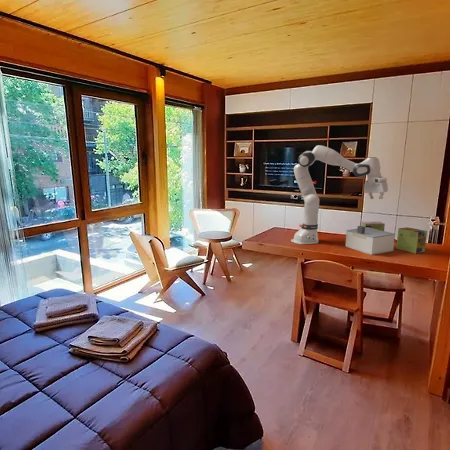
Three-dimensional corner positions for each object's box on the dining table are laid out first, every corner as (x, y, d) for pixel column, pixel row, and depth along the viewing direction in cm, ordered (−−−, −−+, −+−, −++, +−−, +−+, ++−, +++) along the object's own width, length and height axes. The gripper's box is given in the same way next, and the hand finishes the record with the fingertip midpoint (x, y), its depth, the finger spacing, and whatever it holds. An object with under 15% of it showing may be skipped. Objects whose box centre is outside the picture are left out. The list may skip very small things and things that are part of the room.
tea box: (379, 238, 271) (380, 221, 268) (383, 241, 262) (385, 223, 259) (360, 238, 273) (361, 220, 270) (364, 241, 263) (365, 223, 260)
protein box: (416, 253, 228) (418, 232, 225) (395, 248, 241) (398, 228, 238) (425, 251, 233) (427, 230, 230) (404, 246, 246) (407, 226, 243)
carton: (371, 254, 226) (372, 238, 223) (345, 246, 247) (346, 231, 245) (393, 250, 235) (394, 234, 233) (366, 243, 256) (367, 228, 254)
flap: (373, 238, 224) (373, 229, 222) (346, 231, 245) (347, 223, 244) (394, 234, 233) (395, 226, 232) (367, 228, 254) (368, 221, 253)
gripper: (361, 181, 241) (363, 199, 243) (380, 179, 221) (382, 199, 223) (368, 180, 243) (370, 198, 244) (388, 178, 223) (390, 198, 225)
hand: (376, 198), depth 234 cm, fingers open, 8 cm apart
